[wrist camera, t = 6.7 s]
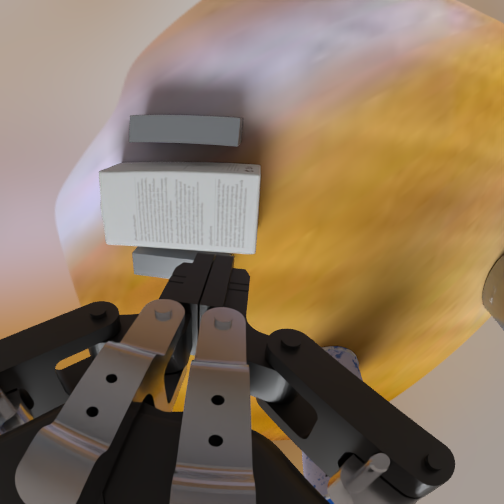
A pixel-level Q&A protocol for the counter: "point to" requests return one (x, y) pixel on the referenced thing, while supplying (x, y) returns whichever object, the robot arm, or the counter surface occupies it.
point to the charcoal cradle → (178, 131)
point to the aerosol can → (309, 466)
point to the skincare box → (182, 205)
